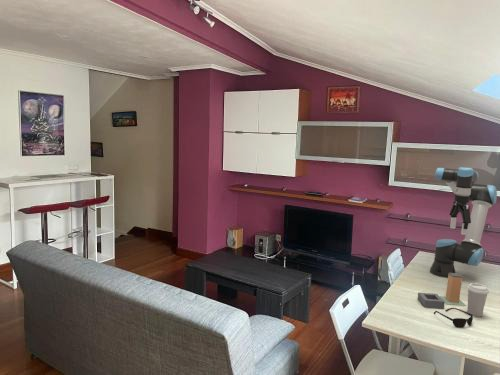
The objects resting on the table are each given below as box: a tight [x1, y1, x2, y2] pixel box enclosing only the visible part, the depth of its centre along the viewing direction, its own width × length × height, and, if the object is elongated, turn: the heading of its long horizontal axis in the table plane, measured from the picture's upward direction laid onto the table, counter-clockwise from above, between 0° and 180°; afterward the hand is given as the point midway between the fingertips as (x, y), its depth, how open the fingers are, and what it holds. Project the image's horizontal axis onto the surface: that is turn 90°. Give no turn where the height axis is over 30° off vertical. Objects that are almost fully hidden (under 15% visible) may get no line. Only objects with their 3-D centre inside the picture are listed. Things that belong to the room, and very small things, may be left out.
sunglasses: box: [433, 307, 474, 328], centre depth 185 cm, size 14×16×5 cm
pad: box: [439, 295, 467, 307], centre depth 206 cm, size 10×10×1 cm
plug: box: [445, 272, 463, 303], centre depth 205 cm, size 5×5×15 cm
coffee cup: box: [466, 282, 490, 318], centre depth 191 cm, size 10×10×15 cm
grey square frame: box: [417, 292, 446, 310], centre depth 201 cm, size 10×10×4 cm
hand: (458, 231), depth 214 cm, fingers open, 13 cm apart
